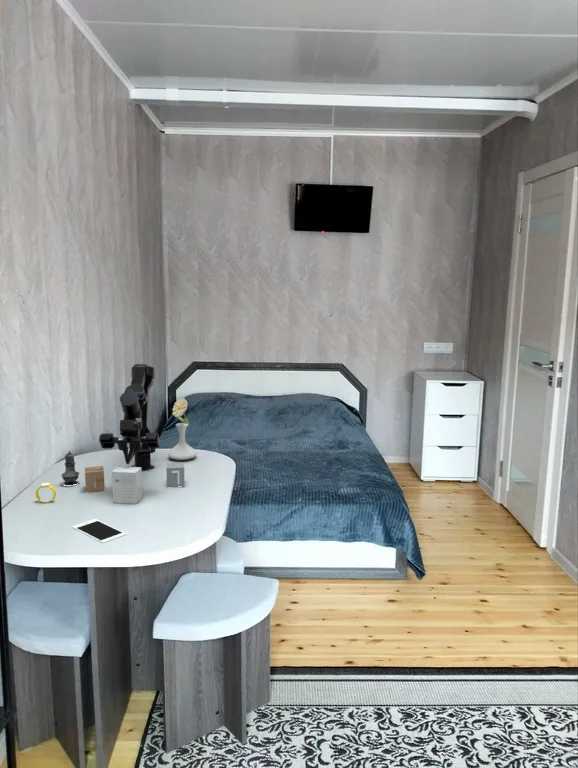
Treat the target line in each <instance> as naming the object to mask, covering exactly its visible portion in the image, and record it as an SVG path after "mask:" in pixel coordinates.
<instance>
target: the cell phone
mask: <svg viewBox="0 0 578 768" xmlns="http://www.w3.org/2000/svg"><path fill="white" fill-rule="evenodd" d="M71 528H72V529H74V530H75V531H78V532H80V533H82V534H83V535H86V536H87V537H90V538H91V539H93V540H95V541H97V542H99V543H101V544H105V543H108V542H110V541H114V540H116V539H119V538H121V537H125V536H127V532H124V531H122V530H120V529H118V528H116V527H114V526H111V525H110V524H108V523H105V522H103V521H101V520H99V519H97V518H93V519H90V520H87V521H84V522H81V523H77V524H75V525H71Z"/></svg>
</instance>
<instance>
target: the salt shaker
mask: <svg viewBox="0 0 578 768" xmlns="http://www.w3.org/2000/svg"><path fill="white" fill-rule="evenodd" d="M64 459H65V460H64V461H65V463H64V466H65V471H64V472H63V473H61V477H62V479H63V481H64V482H63V483H64V484H65V485H73V484H77V483H78V482H79V481H77V480H78V478H79V475H80V472H78V471H76V468H75V467H76V466H75V465H76V462H75V454H74V453H72V452H71V450H68V453H66V454H65V455H64Z"/></svg>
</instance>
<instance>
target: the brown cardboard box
mask: <svg viewBox="0 0 578 768" xmlns="http://www.w3.org/2000/svg"><path fill="white" fill-rule="evenodd" d="M84 479H85V480H84V481H85V484H84V485H85V493H86V492H88V493H96V492H95V491H99V492H105V469H104V465H97V466H85V467H84Z"/></svg>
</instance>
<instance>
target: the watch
mask: <svg viewBox="0 0 578 768" xmlns="http://www.w3.org/2000/svg"><path fill="white" fill-rule="evenodd" d="M41 488H43V489H45V488H49V489H51V491H52V492H53V493H52V494H53V497H52V498H51V499H50V500H51V502H53V501H54V500H55V499H56V496H57V492H56V491H57V490H56V489H55V488H54V486H52V485H51V484H50V482H43V483H40V485H39V486H38V487H37V488H36V490H35V498H36V499H37V501H39V500H40V499H42V497H40V495H39V490H40V489H41Z"/></svg>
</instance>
